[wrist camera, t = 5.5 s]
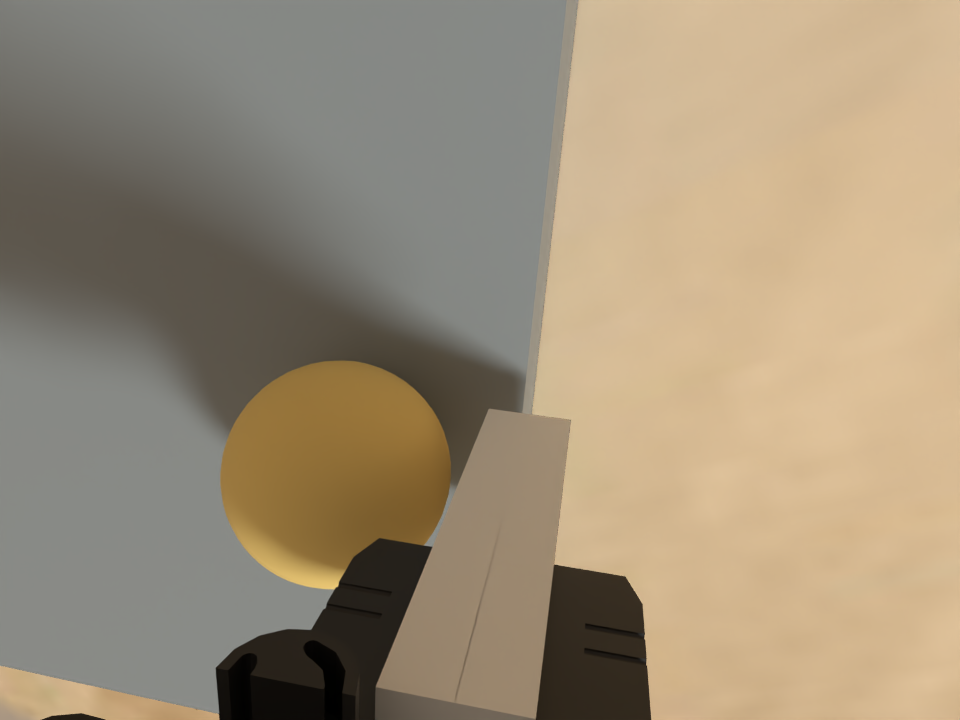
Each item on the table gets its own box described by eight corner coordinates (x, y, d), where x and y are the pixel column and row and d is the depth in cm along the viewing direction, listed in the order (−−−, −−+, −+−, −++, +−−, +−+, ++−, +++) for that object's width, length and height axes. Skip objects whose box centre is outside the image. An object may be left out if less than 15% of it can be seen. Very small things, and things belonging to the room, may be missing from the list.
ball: (281, 320, 14) (159, 396, 10) (477, 346, 13) (424, 436, 9) (286, 493, 15) (180, 616, 11) (463, 523, 14) (412, 663, 11)
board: (-334, -79, 16) (-526, -119, 14) (582, -32, 13) (574, -72, 11) (-150, 548, 23) (-257, 608, 20) (501, 679, 20) (483, 772, 17)
